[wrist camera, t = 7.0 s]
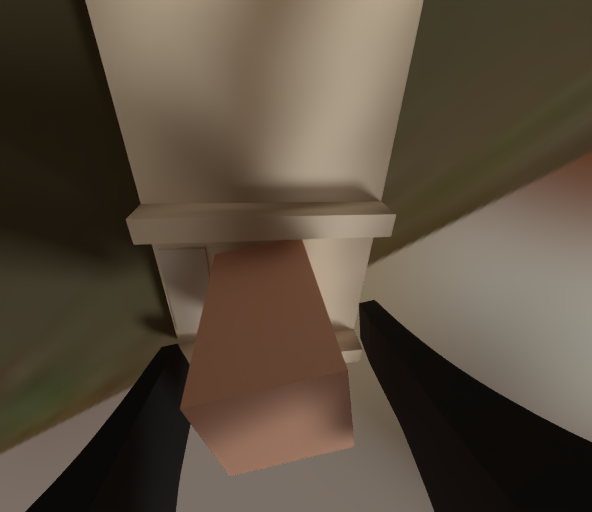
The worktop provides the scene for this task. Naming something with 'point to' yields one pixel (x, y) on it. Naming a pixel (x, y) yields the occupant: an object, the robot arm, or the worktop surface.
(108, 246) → the worktop surface
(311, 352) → the block
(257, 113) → the notched rack
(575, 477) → the robot arm
